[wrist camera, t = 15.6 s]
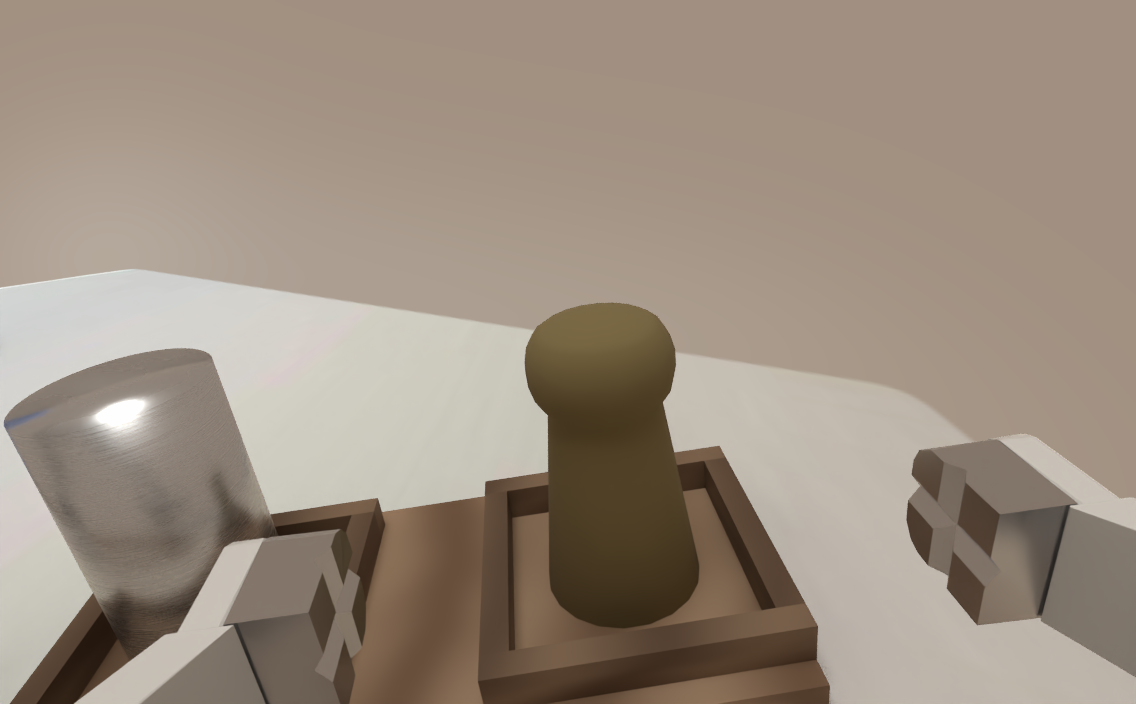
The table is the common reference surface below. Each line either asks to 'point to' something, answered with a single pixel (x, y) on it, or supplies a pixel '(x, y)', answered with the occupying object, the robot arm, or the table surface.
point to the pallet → (530, 610)
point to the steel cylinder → (142, 482)
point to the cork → (612, 466)
